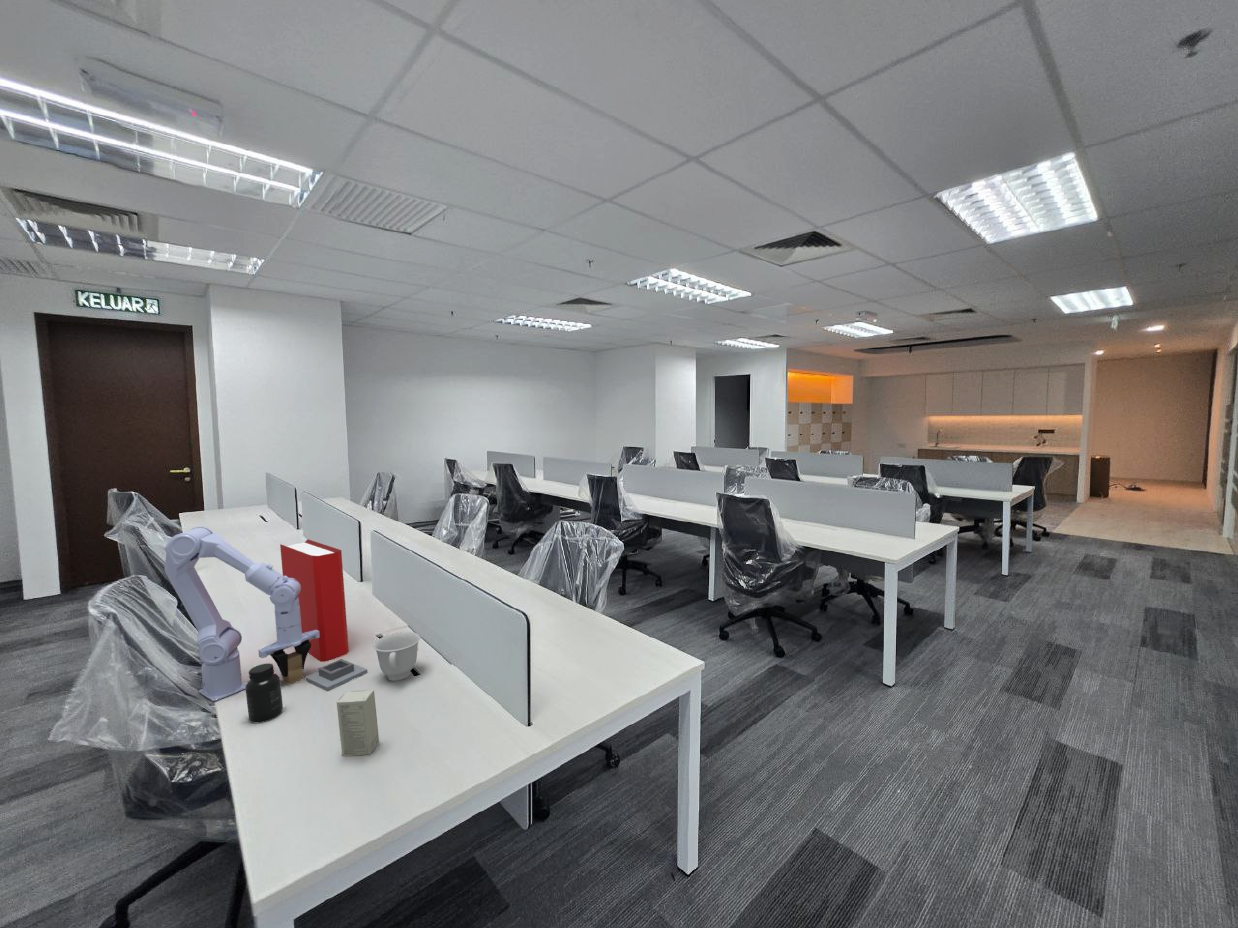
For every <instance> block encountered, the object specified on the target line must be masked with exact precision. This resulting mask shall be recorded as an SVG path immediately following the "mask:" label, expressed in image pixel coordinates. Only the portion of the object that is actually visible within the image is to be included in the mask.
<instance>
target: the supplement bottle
mask: <svg viewBox="0 0 1238 928" xmlns="http://www.w3.org/2000/svg"><path fill="white" fill-rule="evenodd" d="M248 675H249V676H248V678H249V680H248V681H247V683H245V684H246V687H245V689H244V690H245V697H246V705H247V713H248V714H247V715H248V719H249V721H250V723H251V722H252V723H254V722H259V723H263V721H264V722H267V720H268V721H270V720H273V719H275V718H277V717H278V716H279V715H280V714H281V713H282V711H283V709H284V706H283V695H282V686H281V678H280V676H279V675H278V674H277V673H275V668H274V664H273V663H262V664H258V665H256V666H253V667H251V668H250V669H249V671H248ZM272 718H273V719H272Z"/></svg>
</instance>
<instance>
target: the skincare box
mask: <svg viewBox="0 0 1238 928" xmlns="http://www.w3.org/2000/svg"><path fill="white" fill-rule="evenodd" d="M376 706H377V705H376V696H375V690H374V689H367V690H366V689H365V690H349V691H345V693H343V694H342V696H341V697H340V698H338V699H337V701H336V708H337V709H336V710H337V718H338V719H337V720H338V728H339V738H340V739H339V741H340V746H341V756H342V757H345V756H346V757H348V756H349V757H350V756H365V755H367V756H368V755H371V754H373V752H374V750H375V749H376V747H377V746H378V744H379V743H380V738H379V736H380V735H379V726H378V725H379V724H378V717H377V707H376Z"/></svg>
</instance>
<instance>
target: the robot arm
mask: <svg viewBox="0 0 1238 928" xmlns="http://www.w3.org/2000/svg"><path fill="white" fill-rule="evenodd" d="M164 551H165V553H166V555H165V559H164V560H165V562H164V573H165V574H166V577H167V578H168V580H169V582H170V584H171V585H172V587H173V590H175V593H176V595H177V596H178V599H180V601H181V603H182V605H183V607H184V609H185V611H186V612H187V614H188V616H189V617H190V619H191V621H192V623H193V624H194V626H195V628H196V630H197V637H196V645H197V647H198V657H199V660H201V662H203V663H202V664H201V670H200V672H201V678H202V679H201V681H202V689H200V690H198V693H199V694H201V695H202V696H204V697H205V698H206V699H207V698H208V699H209V700H210V701H212V702H216V699H217V701H219V700H222V699H224V698H226V697H229V696H231V695H234V694H236V693H239V692H241V691H244V690H245V687H246V684H247V683H246V682H244V681H243V678H242V677H243V676H242V668H241V657H240V650H238V646H240V645H241V642H242V640H243V637H242V634H241V632H240V631H239V630H238V629H236V628H235V627H234V626H232V624H231V621H228V620H226V619H223V618H222V616H221V614H220V612H219V610H218V609H217V607H216V604H215V602H214V601H213V599H212V597H211V595H210V594H209V592H208V590H207V588H206V586H205V585H204V582H203V581H202V579H201V577H200V575H199V574H198V571H197V570H196V568H195V567H196V564H197V563H198V561H199V560H200V559H202V558H203V559H204V558H216V559H218V560H219V561H221V562H223V563H225V564H227V565H228V566H230V567H231V568H234V569H236V570H237V571H239V572H240V573H243V575H244V578H245V582H247V583H249V584H250V585H252V586H253V587H255V588H257V589H258V590H259V591H261V592H263V594H266V595H268V596H269V600H270V602H271V603H272V604H273V605H274V617H275V618H274V619H275V629H276V631H275V633H276V641H274V642H273V643H271V644H269V645H267V646H264V647H262V648H260V649H257V650H258V657H259V658H260V659H265V658H267V657H268V656H270V657H271V658H272V659H273V660H274V663H275V664H276V666H277V667H278V669H279V671H280V676H282V677H283V676H284V677H286V676H288V668H287V659H288V654H289V653H287V652H286V651H285V650H286V649H290V648H292V647H293V648H294V652H297V653H299V654H301V656H302V668H303V670H305V663H306V660H307V657H308V655H309V654H308V652H309V650H310V648H311V643H310V642H309V640H311V639H314V638H315V639H316V638H319V637H320V635H319V631H318V630H313V631H309V632H305V633H302V627H301V615H300V605H299V597H297V596H298V594H299V593H300V590H301V585H300V583H299V582H298V581H297V580H296V579H294V578H288V577H287V576H286V575H285V576H283V574H281V573H280V572H278V571H277V570H275V569H274V566H273V565H272V564H270V563H268V564H266V563H265V562H260V563H257V562H254V561H253V560H252V559H250V558H248V557H247V556H246V555H245V554H243V553H242V552H240V550H238V549H236V548H235V547H234V546H232V544H230V543H229V542H228V541H226V540H225V539H224V538H223V537H222V536H221V535H220V534H219V533H216V532H213V530H211V529H210V528H208V527H205V526H195V527H192V528H191V529H189V530H187V531H185V532H181V533H178V534H177V533H176V535H173V536H172V537H171V539H169V541H168V543H167V544H166V545H165V546H164Z"/></svg>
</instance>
